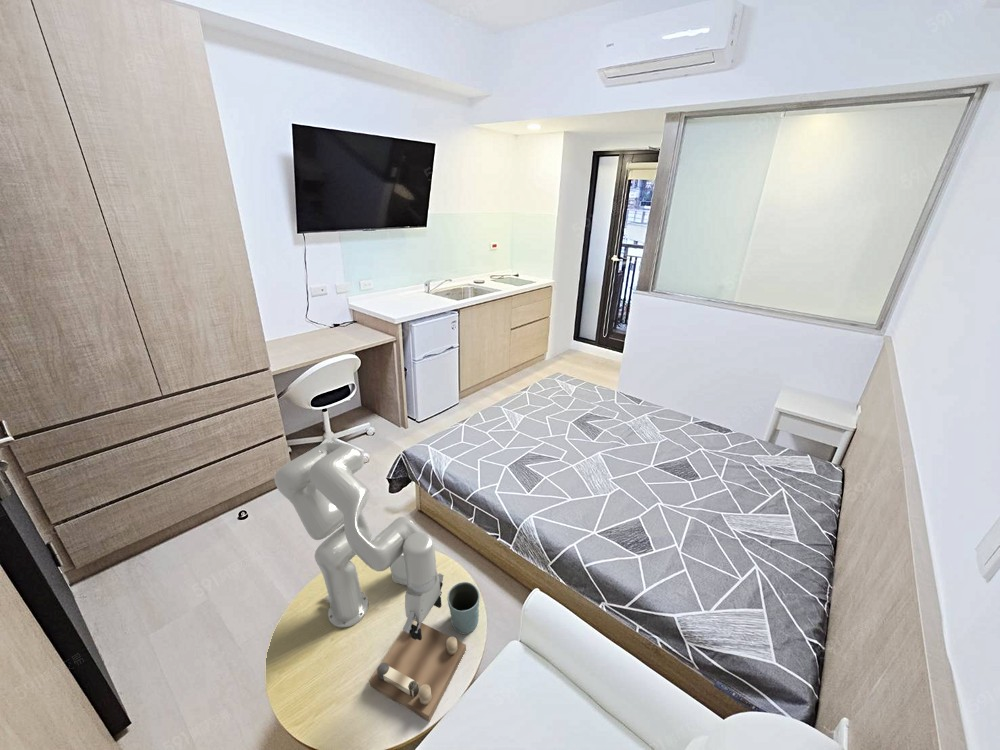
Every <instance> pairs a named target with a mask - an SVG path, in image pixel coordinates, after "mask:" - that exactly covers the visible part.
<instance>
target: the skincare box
mask: <svg viewBox="0 0 1000 750" xmlns="http://www.w3.org/2000/svg"><path fill="white" fill-rule="evenodd" d="M389 568H390V573H391V579H392V582H394V583H397V584H399V585H403V586H406V587H408V585H407V578H406V571H405V563H404V555H403V554H402V555H401V556H400V557H399V558H398V559H397V560H396V561H395V562H394V563H393V564H392V565H391V566H390V567H389Z"/></svg>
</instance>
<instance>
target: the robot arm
mask: <svg viewBox="0 0 1000 750" xmlns="http://www.w3.org/2000/svg"><path fill="white" fill-rule="evenodd" d="M364 464H365V459H364V456H363V454H362V453H361V451H360V450H359V449H358V448H356V447H355V446H353V445H351V444H348V443H342V442H331V441H330V442H324V443H321V444H319V445H317V446H315V447H313V448H312V449H309V450H308V451H307V452H305V453H303V454H301V455H299V456H297V457H296V458H294V459H292V460H291V461H289V462H287V463H285V464H284V465H282V466H281V467H280V468H279V469H278V470H276V472H275V474H274V477H273V478H274V485H275V486H276V488H277V489H278V491H279V492H280V493H281V495H283V496H284V497H285V498H286V499H287V500H288V501H289V502H290V503H291V504H292V506H293V507H294V510H295V512H296V513H297V516H298V517H299V519H300V521H301V523H302V525H303V527H304V529H305V530H306V532H307V534H308V536H309V537H310V538H311V539H313V540H315V541H320V540H323V539H325V538H326V539H325V540H324V541H322V542H321V543H320V544H319V546H318V547H317V548H316V550H315V552H314V561H315V562H316V565H317V566H318V568H319V569H320V571H321V574H322V576H323V581H324V584H325V586H326V591H327V595H326V596H325V597H324V600H325V601H327V602H329V607H328V610H327V611H328V612H327V616H328V620H329V622H330V623H331V625H332V626H333V627H336V628H339V629H340V628H341V629H344V628H349V627H352V626H354V625H356V624H357V623H358V622H360V621H362V619H363V618H364V617H365V616H366V614H367V612H368V609H369V599H368V596H367V595H366V594H365V593H364V592H362V590H361V585H360V581H359V575H358V571H357V567H356V565H355V563H354V562H352V559H353V558H354V557H355V556H357V557H358V558H359V559H360V560H361V561H362V562H363V563H364V564H365V565H366V566H368V567H369V568H370V569H371V570H373V571H376V572H384V571H385V570H388V569H389V568H390V566H391V565H392V564H393V563H394V562H395V561H396V560H397V559H398V558H399V557H400V556H401V555H402V554H403V555H404V563H405V571H406V578H407V585H408V586H406V587H407V588H406V590H405V598H404V610H405V616H406V621H405V623H404V626H403V627H402V631H405V632H407V633H409V634H410V635H411V637H412V638H413V639H415V640H416V639H418V640H421V639H422V634H421V629H420V625H421V623H423V622H424V621H425V619H426V618H427V617H428V615H429V613H430V612H431V610H432V608H433V607H436V608H438V609H440V608H442V594H443V592H442V588H443V581H444V576H445V575H444V574H442V573H438V571H437V562H436V561H437V558H436V547H435V542H434V539H433V537H432V536H431V535H430V534H428V533H426V532H424V531H422V530H421V529H420V528H419V527H418V526H417V525H416V523H414V522H413V520H411V519H410V518H408V517H406V516H399V517H398V518H396V519H394V520H393V521H392V522H391V523H390V524H389V525H388V526H387V527H386V528H384V529H383V530H382V531H381V532H380V533H378V534H377V535H376V536H375V537H374V538H373V539H372V530H371V528H370V526H369V524H368V522H367V520H366V517H365V515H364V513H363V510H364V508H365V506H366V505H367V502H368V501H369V499H370V496H371V490H370V488H369V487H367V485H365V484H364V483H363V482H362V481H361V480H360V479H359V478H358V477H357V476H356V475H354V474H356V473H357V472H358V471H360V470H361V469H362V468H363V467H364ZM337 529H338V530H337ZM328 536H329V537H328ZM371 539H372V540H371ZM413 621H416V622H417V625H416V626H415V625H413Z"/></svg>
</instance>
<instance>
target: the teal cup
mask: <svg viewBox="0 0 1000 750" xmlns="http://www.w3.org/2000/svg"><path fill="white" fill-rule="evenodd" d="M446 599H447V604H448V607H449V614H450V617H451V624H452V627H453V629H454V630H455V631H456V632H457V633H458V632H459V634H462V633H464V634H463V635H465V633H466V634H469V632H470V633H472V632H473V631H475V629H476V628H477V627H478V624H479V616H480V614H479V613H480V610H479V607H480V591H479V589H478V588H477V587H476V585H475V584H473V583H471V582H466V581H462V582H459V583H456V584H455V585H452V587H451V588H450V590H449V591H448V593H447V598H446Z"/></svg>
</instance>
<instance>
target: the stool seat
mask: <svg viewBox="0 0 1000 750" xmlns="http://www.w3.org/2000/svg"><path fill="white" fill-rule="evenodd" d="M413 625H415V626H416V625H417V622H416V621H413ZM420 629H421V634H422V639H421V640H418V639H416V640H415V639H413V638H412V637H411V635H410V634H409V633H407V632H405V631H403V630H401V632H399V633H400V634H398V636H397V638H396V639H395V641H394V642H393V644H392V645H391V647H390V648H389V650H388V651H387V653H386V655H385V656H384V657H383V659H382V660H381V662H379V664H378V666H379V665H380V664H381V663H387V664H388V665H389V666H390V667H391V668H393V669H395V670H397V671H398V672H400V673H402V674H404V675H406V676H407V677H409V678H411V679H413V680H414V681H417V682H418V684H419V692H418V694H417V695H416V696H414V697H412V696H410V695H409V694H407V693H405V692H404V691H402V690H400V689H398V688H397V687H395V686H393V685H391V684H390V683H388V682H386V681H385V680H380V679H379V677H378V672H377V668H378V666H377V668H376V669H375V670H374V672H373V674H372V675H371V676H370V678H369V679H368V684H369V687H370V688H372V689H373V690H375V691H377V692H379V693H381V694H382V695H383V696H385V697H387V698H389V699H390V700H393V701H394V702H395V703H397V704H398V705H400V706H402V707H404V708H405V709H407V710H408V711H411V712H412V713H414V714H415V715H416V716H419V717H420V718H422V719H424V720H425V721H427V722H429V723H430V722H431V720H432V718H433V716H434V715H435V712H436V710H437V709H438V706H439V704H440V702H441V701H442V699H443V697H444V694H445V693H446V691H447V689H448V687H449V685H450V683H451V681H452V679H453V677H454V675H455V674H456V671H457V670H458V667H459V666H460V664H461V662H462V660H463V658H462V657H464V656H463V655H465V654H466V652H467V644H466V643H463V642H462V641H460V640H458V639H457V638H456V637H454V636H449V635H448V634H445V633H443V632H441V631H439V630H438V629H435V628H433V627H431V626H429V625H427V624H426V623H423V622H421V625H420ZM465 651H466V652H465ZM461 659H462V660H461ZM460 661H461V662H460ZM459 663H460V664H459ZM458 665H459V666H458Z"/></svg>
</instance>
